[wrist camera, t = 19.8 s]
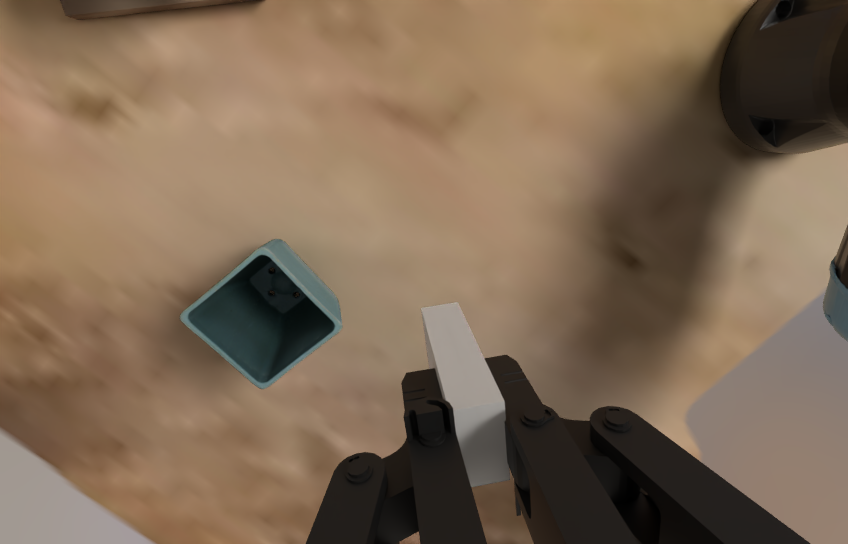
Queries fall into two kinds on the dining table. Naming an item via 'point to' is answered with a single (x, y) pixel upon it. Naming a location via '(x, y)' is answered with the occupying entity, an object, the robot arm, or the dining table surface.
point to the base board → (129, 6)
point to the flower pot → (266, 314)
